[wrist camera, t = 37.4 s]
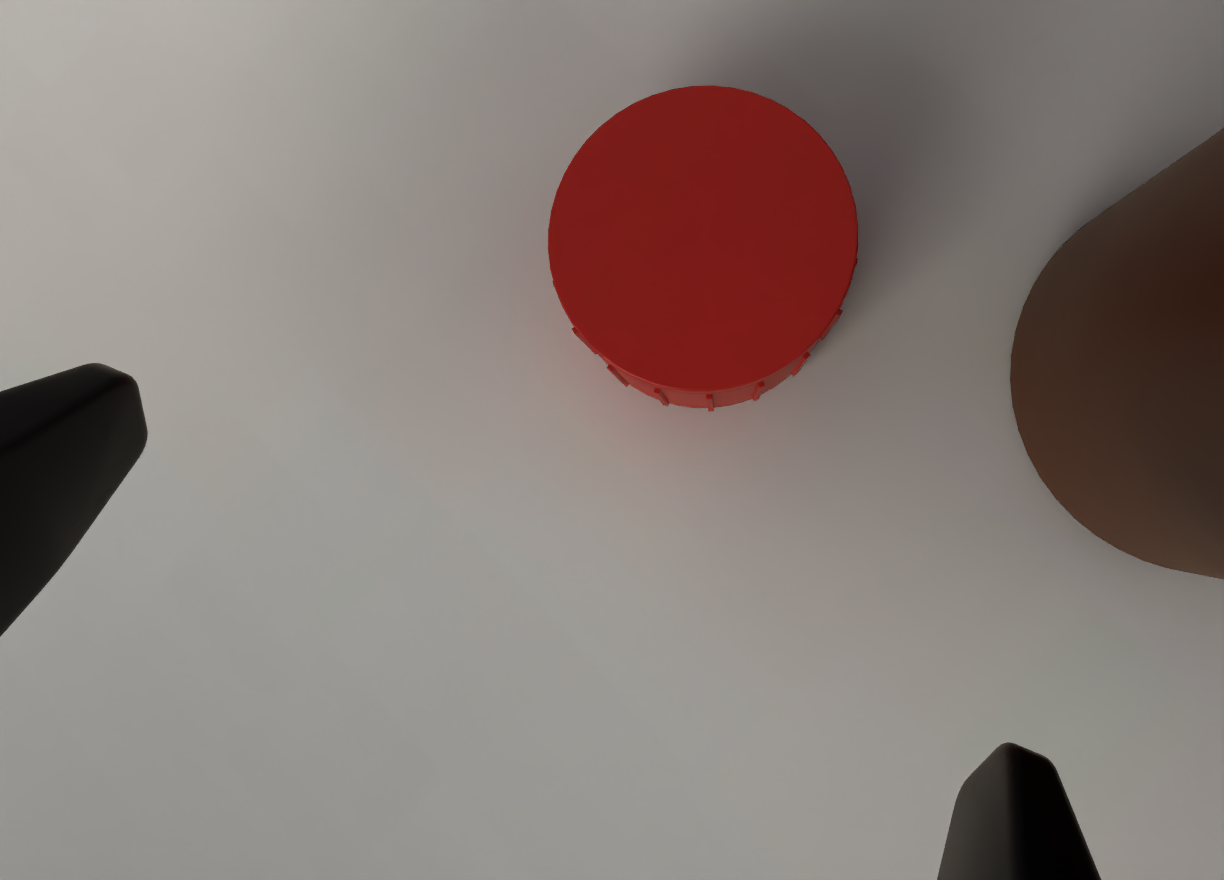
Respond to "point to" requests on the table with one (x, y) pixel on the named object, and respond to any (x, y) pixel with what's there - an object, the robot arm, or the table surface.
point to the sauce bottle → (1135, 369)
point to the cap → (703, 244)
